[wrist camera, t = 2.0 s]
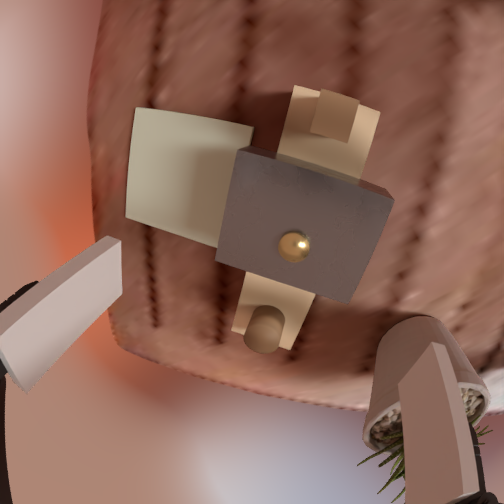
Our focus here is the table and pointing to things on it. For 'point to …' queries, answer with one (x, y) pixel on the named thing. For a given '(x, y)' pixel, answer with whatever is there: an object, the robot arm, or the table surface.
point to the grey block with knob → (300, 223)
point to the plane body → (321, 153)
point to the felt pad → (182, 171)
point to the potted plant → (392, 372)
